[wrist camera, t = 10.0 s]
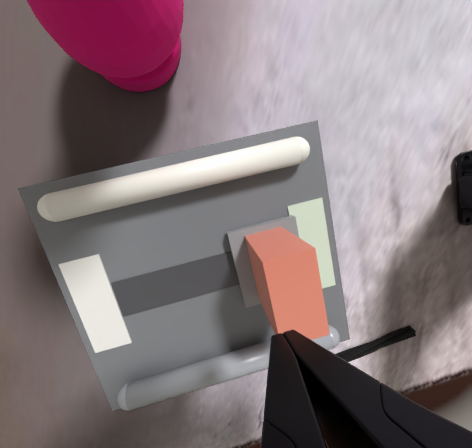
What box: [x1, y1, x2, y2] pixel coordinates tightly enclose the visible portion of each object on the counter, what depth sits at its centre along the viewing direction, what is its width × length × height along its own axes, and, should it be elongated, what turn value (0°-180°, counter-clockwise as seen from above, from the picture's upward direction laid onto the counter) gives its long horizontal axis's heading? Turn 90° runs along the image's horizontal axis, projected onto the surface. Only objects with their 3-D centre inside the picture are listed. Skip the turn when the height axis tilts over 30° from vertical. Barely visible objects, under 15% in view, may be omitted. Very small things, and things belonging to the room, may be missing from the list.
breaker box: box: [18, 121, 350, 411], centre depth 17 cm, size 18×16×6 cm
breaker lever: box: [227, 215, 330, 340], centre depth 14 cm, size 4×5×5 cm
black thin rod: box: [335, 326, 416, 362], centre depth 23 cm, size 12×1×1 cm, turn 108°
